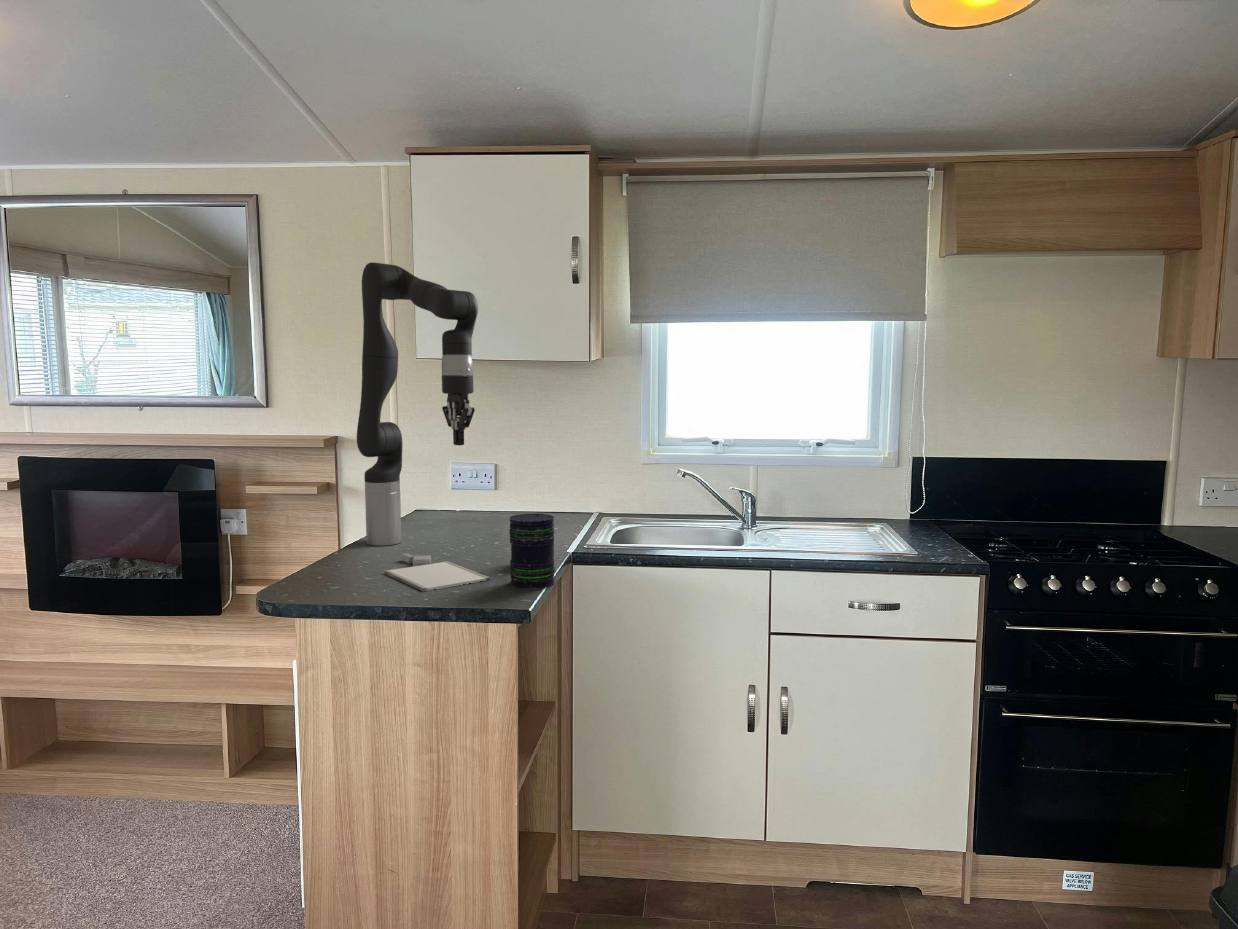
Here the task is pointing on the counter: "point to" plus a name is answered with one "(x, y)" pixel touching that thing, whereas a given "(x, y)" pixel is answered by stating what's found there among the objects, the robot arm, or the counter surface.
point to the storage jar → (532, 551)
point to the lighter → (416, 559)
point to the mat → (436, 576)
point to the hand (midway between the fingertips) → (458, 445)
